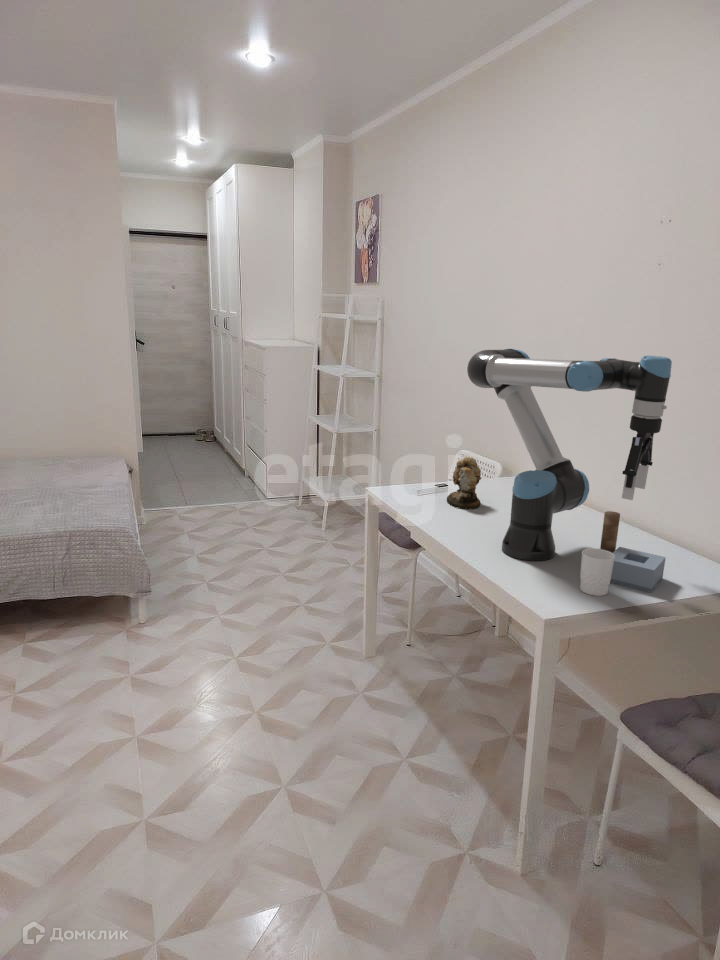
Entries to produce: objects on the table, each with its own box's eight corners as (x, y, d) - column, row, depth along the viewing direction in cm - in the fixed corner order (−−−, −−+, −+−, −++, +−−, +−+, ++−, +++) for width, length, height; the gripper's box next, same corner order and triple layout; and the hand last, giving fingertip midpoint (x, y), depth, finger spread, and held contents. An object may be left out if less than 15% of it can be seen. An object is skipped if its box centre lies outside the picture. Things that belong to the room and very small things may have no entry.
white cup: (609, 599, 166) (614, 561, 163) (576, 593, 168) (580, 556, 166) (610, 587, 173) (615, 551, 170) (578, 582, 175) (582, 546, 173)
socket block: (603, 580, 177) (606, 558, 176) (616, 567, 187) (619, 546, 185) (651, 592, 170) (654, 570, 169) (662, 578, 180) (665, 557, 178)
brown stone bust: (441, 495, 252) (444, 451, 248) (472, 495, 254) (475, 451, 249) (452, 509, 235) (455, 462, 231) (485, 509, 236) (489, 462, 232)
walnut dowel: (596, 564, 188) (602, 513, 184) (600, 560, 191) (607, 510, 187) (610, 568, 186) (617, 516, 182) (615, 564, 189) (622, 513, 185)
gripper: (651, 424, 164) (636, 507, 170) (671, 412, 184) (658, 486, 190) (619, 420, 168) (606, 500, 174) (643, 408, 188) (630, 480, 194)
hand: (633, 493), depth 182 cm, fingers open, 13 cm apart
